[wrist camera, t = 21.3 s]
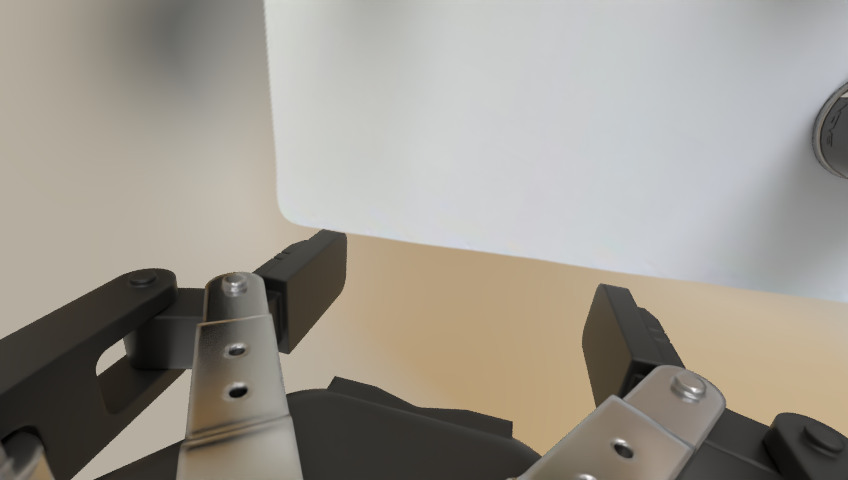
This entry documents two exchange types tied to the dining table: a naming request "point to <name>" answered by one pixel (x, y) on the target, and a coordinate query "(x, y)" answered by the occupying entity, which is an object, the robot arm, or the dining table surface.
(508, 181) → the dining table surface
